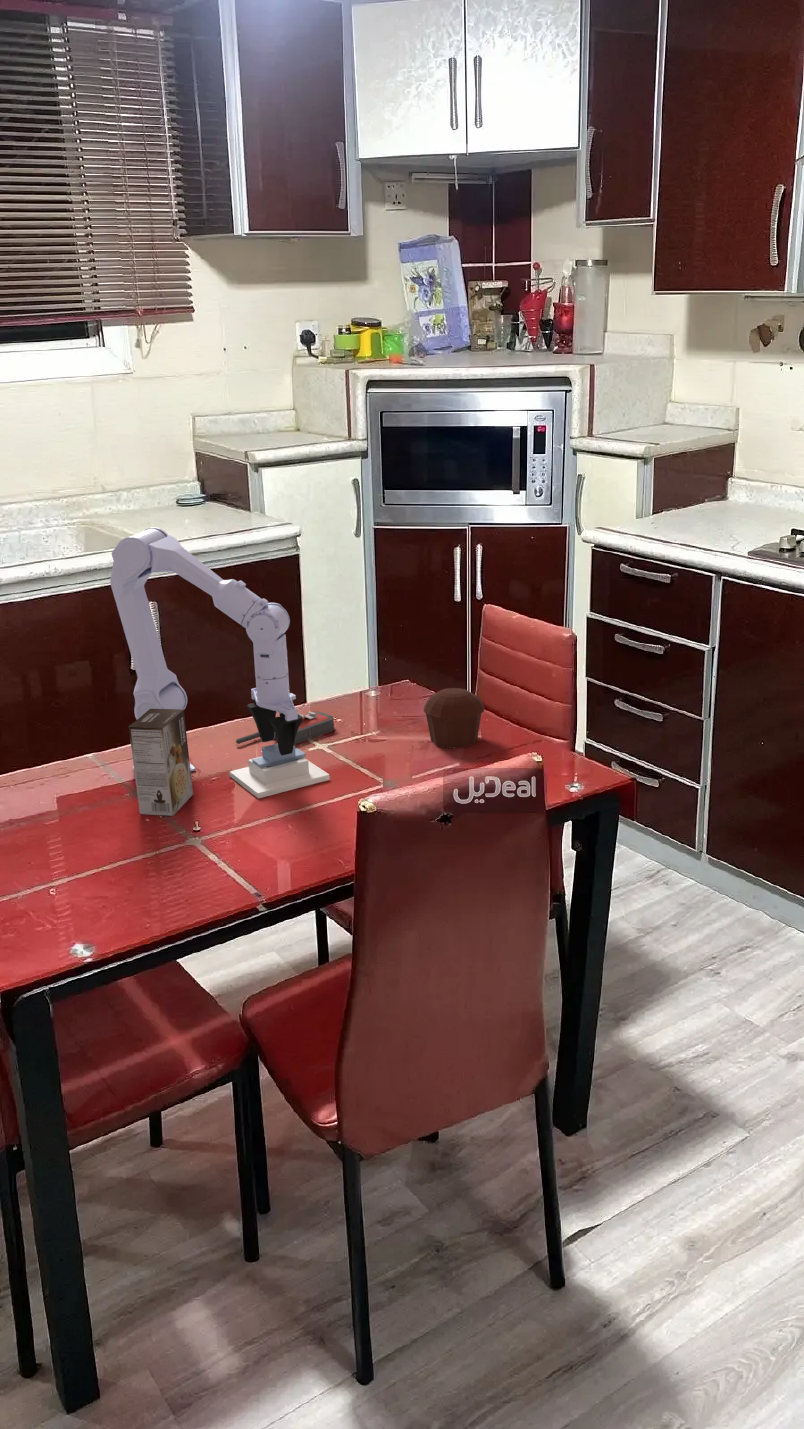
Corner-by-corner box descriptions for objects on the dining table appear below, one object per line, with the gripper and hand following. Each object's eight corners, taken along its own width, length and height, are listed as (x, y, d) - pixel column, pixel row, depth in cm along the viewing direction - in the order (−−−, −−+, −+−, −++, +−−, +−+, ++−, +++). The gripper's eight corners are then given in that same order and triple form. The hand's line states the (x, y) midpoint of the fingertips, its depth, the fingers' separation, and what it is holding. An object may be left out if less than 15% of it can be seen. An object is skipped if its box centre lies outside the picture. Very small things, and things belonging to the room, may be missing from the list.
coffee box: (159, 793, 204) (150, 707, 199) (194, 794, 203) (185, 708, 197) (138, 814, 196) (127, 725, 190) (174, 817, 194) (164, 727, 189)
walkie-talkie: (312, 720, 238) (233, 747, 225) (311, 699, 236) (231, 725, 223) (341, 730, 232) (261, 758, 219) (339, 709, 230) (259, 736, 217)
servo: (261, 781, 205) (258, 750, 203) (253, 775, 208) (251, 745, 206) (306, 769, 209) (304, 739, 207) (298, 764, 212) (296, 734, 210)
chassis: (258, 798, 200) (256, 779, 199) (230, 776, 210) (228, 758, 209) (329, 779, 207) (328, 761, 206) (299, 759, 217) (297, 741, 216)
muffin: (417, 748, 220) (415, 698, 217) (432, 727, 230) (431, 680, 227) (477, 753, 217) (477, 702, 214) (491, 732, 227) (490, 683, 224)
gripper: (311, 680, 198) (315, 754, 203) (274, 660, 210) (279, 730, 214) (274, 688, 195) (279, 763, 199) (238, 667, 206) (244, 738, 211)
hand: (276, 747), depth 207 cm, fingers open, 7 cm apart
